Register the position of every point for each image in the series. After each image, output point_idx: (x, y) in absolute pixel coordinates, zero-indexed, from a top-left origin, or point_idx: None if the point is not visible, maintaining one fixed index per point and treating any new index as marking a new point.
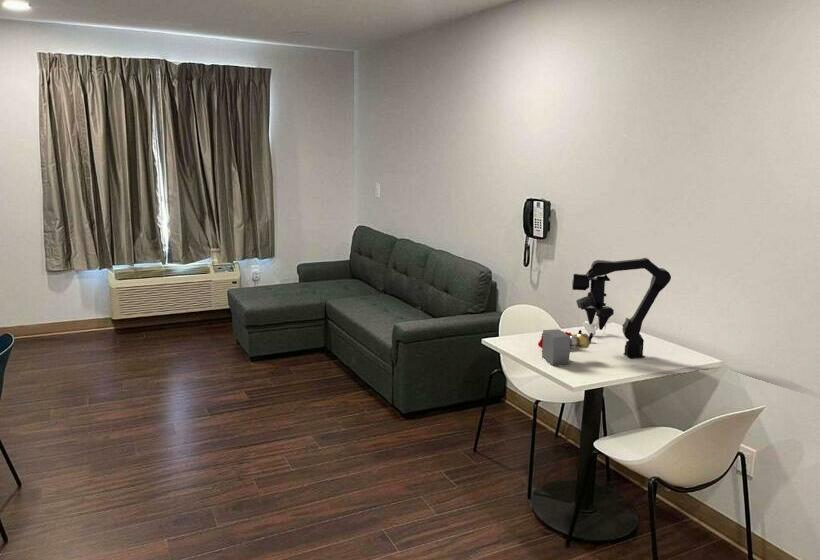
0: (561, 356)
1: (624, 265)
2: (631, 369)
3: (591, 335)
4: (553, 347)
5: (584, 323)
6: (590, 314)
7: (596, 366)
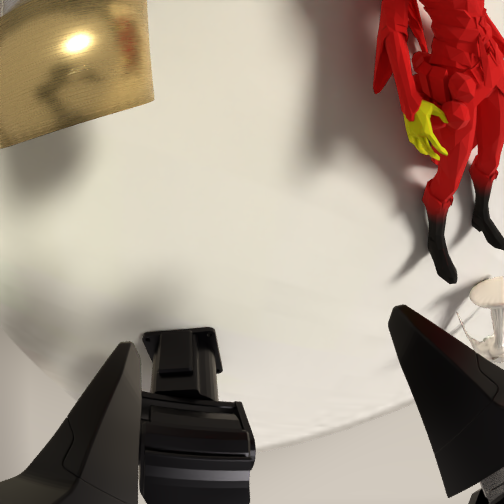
0: None
1: None
2: (4, 283)
3: (444, 273)
4: None
5: None
6: (456, 403)
7: None
